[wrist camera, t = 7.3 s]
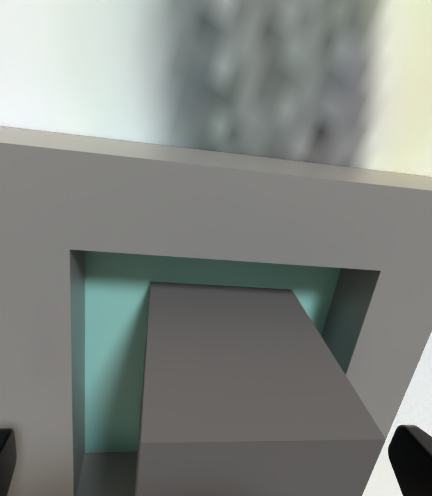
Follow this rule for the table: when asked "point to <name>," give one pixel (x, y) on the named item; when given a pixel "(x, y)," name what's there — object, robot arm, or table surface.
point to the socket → (185, 281)
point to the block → (246, 399)
